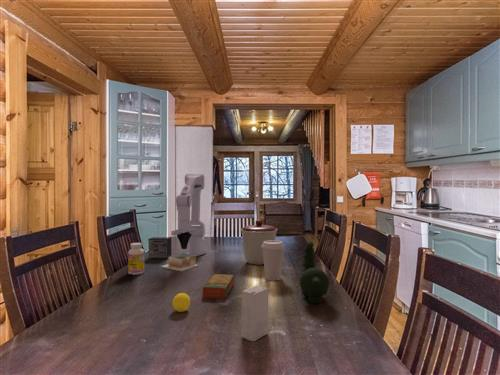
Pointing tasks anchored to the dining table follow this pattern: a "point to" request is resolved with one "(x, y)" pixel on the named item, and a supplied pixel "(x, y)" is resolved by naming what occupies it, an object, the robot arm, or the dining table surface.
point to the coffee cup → (272, 259)
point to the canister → (256, 241)
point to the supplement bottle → (136, 259)
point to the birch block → (182, 260)
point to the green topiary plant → (313, 277)
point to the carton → (218, 286)
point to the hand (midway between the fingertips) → (184, 248)
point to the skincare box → (254, 313)
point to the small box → (160, 248)
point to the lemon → (181, 302)
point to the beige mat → (179, 268)
